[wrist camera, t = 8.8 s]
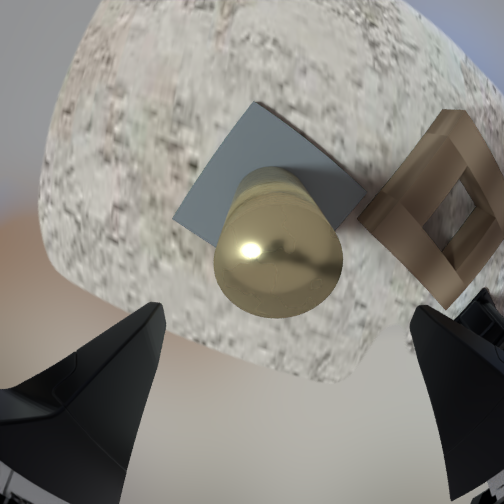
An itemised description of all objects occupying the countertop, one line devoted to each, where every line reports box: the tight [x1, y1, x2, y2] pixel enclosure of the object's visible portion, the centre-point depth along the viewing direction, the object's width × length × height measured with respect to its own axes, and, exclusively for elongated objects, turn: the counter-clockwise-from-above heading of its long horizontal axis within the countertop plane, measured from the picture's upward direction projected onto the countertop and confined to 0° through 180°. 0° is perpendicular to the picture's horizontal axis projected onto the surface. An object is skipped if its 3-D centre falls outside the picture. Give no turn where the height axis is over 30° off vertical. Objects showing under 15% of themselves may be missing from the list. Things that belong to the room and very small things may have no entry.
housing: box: [357, 109, 504, 310], centre depth 17 cm, size 12×12×3 cm
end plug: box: [214, 166, 343, 318], centre depth 14 cm, size 5×5×9 cm
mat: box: [172, 101, 367, 247], centre depth 19 cm, size 10×10×1 cm
